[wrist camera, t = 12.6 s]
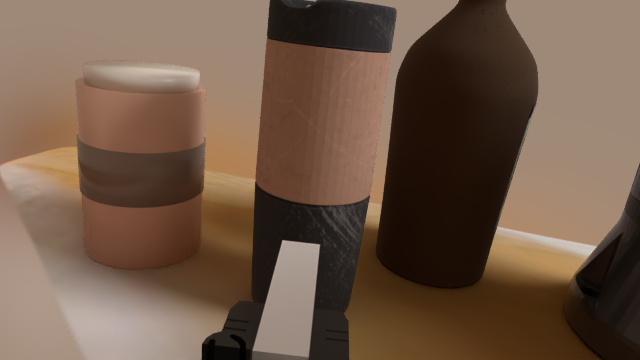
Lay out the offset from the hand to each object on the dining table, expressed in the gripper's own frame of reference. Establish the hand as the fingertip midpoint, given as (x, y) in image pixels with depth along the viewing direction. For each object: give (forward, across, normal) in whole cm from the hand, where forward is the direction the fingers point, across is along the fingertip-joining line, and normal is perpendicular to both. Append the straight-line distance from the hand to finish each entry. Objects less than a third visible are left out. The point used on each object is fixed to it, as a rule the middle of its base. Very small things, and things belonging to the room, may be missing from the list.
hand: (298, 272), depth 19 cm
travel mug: (+13, 0, -10) cm, 16 cm away
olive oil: (+21, +11, -10) cm, 25 cm away
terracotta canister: (+18, -14, -9) cm, 24 cm away
